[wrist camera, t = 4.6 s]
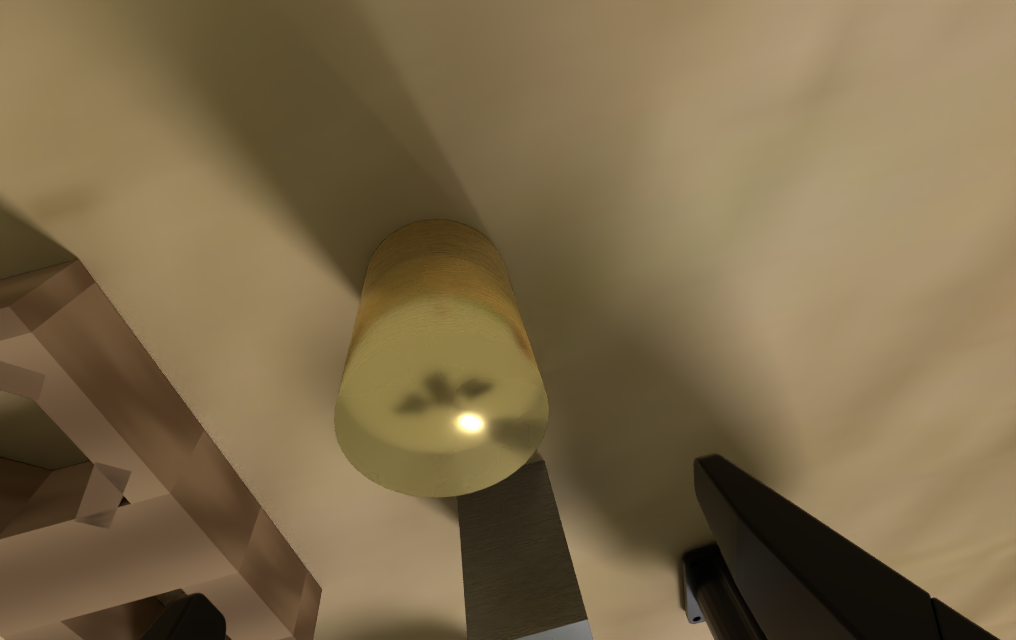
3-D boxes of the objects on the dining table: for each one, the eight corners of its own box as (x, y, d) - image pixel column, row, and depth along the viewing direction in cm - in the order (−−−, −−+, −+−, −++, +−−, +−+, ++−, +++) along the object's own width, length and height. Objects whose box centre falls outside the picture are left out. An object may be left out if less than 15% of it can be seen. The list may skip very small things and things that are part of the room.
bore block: (322, 589, 25) (310, 655, 22) (141, 638, 25) (108, 710, 22) (78, 259, 15) (8, 306, 13) (-214, 336, 15) (-342, 400, 13)
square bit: (559, 517, 25) (603, 676, 19) (479, 539, 25) (496, 706, 19) (544, 460, 22) (588, 619, 16) (456, 484, 22) (468, 652, 16)
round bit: (519, 325, 19) (564, 467, 13) (393, 359, 19) (379, 518, 13) (488, 202, 16) (526, 307, 10) (343, 241, 16) (296, 368, 10)
